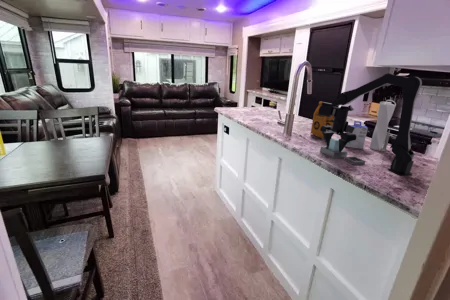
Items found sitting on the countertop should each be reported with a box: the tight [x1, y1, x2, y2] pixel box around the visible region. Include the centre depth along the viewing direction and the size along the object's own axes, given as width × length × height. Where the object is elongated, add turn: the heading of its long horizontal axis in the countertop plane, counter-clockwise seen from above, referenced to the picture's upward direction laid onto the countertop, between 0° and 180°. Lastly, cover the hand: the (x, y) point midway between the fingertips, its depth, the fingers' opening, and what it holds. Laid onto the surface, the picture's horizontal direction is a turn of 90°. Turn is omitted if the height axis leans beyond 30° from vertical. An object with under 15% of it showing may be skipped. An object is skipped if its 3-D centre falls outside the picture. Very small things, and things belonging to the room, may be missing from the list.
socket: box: [319, 145, 348, 159], centre depth 120 cm, size 10×8×3 cm
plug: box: [329, 138, 340, 151], centre depth 119 cm, size 4×4×8 cm
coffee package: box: [310, 100, 335, 140], centre depth 149 cm, size 10×12×22 cm
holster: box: [343, 155, 366, 166], centre depth 111 cm, size 6×6×2 cm
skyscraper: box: [369, 99, 397, 152], centre depth 128 cm, size 8×8×28 cm
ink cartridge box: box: [344, 120, 369, 150], centre depth 133 cm, size 10×6×14 cm, turn 72°
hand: (333, 148), depth 119 cm, fingers open, 8 cm apart
